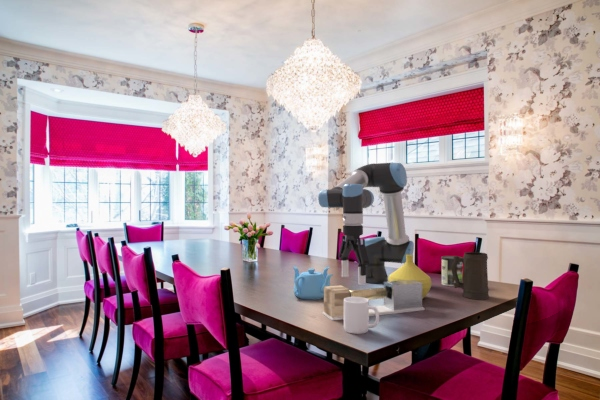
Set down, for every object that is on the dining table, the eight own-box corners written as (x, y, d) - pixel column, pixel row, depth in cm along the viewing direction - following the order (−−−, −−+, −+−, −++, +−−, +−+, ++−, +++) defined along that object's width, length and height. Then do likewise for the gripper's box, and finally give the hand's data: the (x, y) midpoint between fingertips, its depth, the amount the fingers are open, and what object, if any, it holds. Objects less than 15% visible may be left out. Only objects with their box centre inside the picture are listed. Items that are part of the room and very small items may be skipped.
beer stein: (489, 295, 181) (486, 251, 181) (492, 300, 171) (488, 254, 171) (453, 294, 186) (450, 252, 186) (454, 300, 176) (450, 254, 176)
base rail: (322, 313, 151) (322, 311, 151) (410, 304, 165) (410, 302, 165) (331, 320, 142) (331, 318, 142) (424, 310, 156) (424, 307, 156)
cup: (349, 324, 138) (349, 295, 138) (382, 330, 132) (382, 299, 132) (339, 331, 131) (339, 300, 131) (375, 337, 125) (375, 305, 125)
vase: (408, 306, 162) (408, 259, 162) (379, 296, 178) (379, 253, 178) (440, 300, 171) (440, 256, 171) (410, 291, 187) (410, 251, 187)
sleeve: (383, 307, 159) (383, 281, 159) (411, 305, 164) (411, 279, 164) (393, 312, 153) (393, 285, 152) (422, 309, 157) (422, 282, 157)
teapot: (328, 291, 188) (328, 265, 188) (333, 301, 170) (333, 272, 170) (292, 291, 188) (292, 265, 188) (293, 301, 169) (293, 272, 169)
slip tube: (381, 296, 157) (381, 286, 157) (387, 299, 153) (387, 288, 153) (335, 301, 150) (335, 290, 150) (340, 303, 146) (340, 292, 146)
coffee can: (466, 284, 203) (466, 257, 203) (456, 287, 196) (456, 259, 196) (447, 281, 211) (447, 255, 211) (437, 284, 204) (437, 256, 204)
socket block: (323, 314, 150) (323, 286, 150) (341, 312, 153) (341, 285, 153) (331, 319, 144) (331, 290, 143) (349, 317, 146) (349, 289, 146)
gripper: (330, 222, 161) (330, 274, 161) (360, 227, 137) (360, 288, 138) (346, 222, 163) (347, 273, 164) (378, 226, 140) (379, 286, 140)
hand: (353, 280), depth 151 cm, fingers open, 13 cm apart
